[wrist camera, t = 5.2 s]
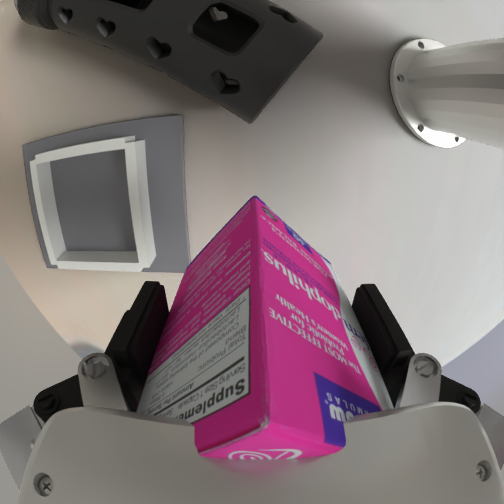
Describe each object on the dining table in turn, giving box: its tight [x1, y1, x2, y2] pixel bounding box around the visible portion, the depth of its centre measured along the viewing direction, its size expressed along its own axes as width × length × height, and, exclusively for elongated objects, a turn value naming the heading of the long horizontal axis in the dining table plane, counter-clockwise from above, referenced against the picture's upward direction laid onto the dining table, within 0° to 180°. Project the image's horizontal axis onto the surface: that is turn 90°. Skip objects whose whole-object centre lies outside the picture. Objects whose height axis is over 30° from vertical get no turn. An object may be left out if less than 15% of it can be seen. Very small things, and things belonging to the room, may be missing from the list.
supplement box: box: [136, 196, 394, 460], centre depth 10 cm, size 6×6×12 cm
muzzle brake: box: [14, 0, 323, 124], centre depth 13 cm, size 10×28×10 cm, turn 55°
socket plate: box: [23, 115, 191, 273], centre depth 24 cm, size 20×16×4 cm
